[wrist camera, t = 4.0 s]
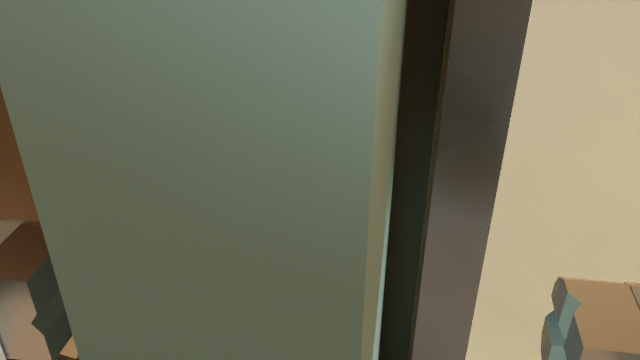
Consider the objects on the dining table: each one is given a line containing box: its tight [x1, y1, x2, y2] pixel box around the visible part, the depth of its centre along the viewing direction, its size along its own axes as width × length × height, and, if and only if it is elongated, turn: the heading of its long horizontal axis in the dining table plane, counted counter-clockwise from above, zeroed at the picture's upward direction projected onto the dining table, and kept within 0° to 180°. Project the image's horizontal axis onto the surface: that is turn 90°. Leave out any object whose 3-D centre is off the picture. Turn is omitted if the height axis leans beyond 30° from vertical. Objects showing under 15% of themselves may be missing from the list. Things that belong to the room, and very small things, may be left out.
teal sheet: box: [0, 0, 408, 360], centre depth 10 cm, size 2×14×9 cm, turn 0°
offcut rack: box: [6, 0, 532, 360], centre depth 12 cm, size 15×20×7 cm
